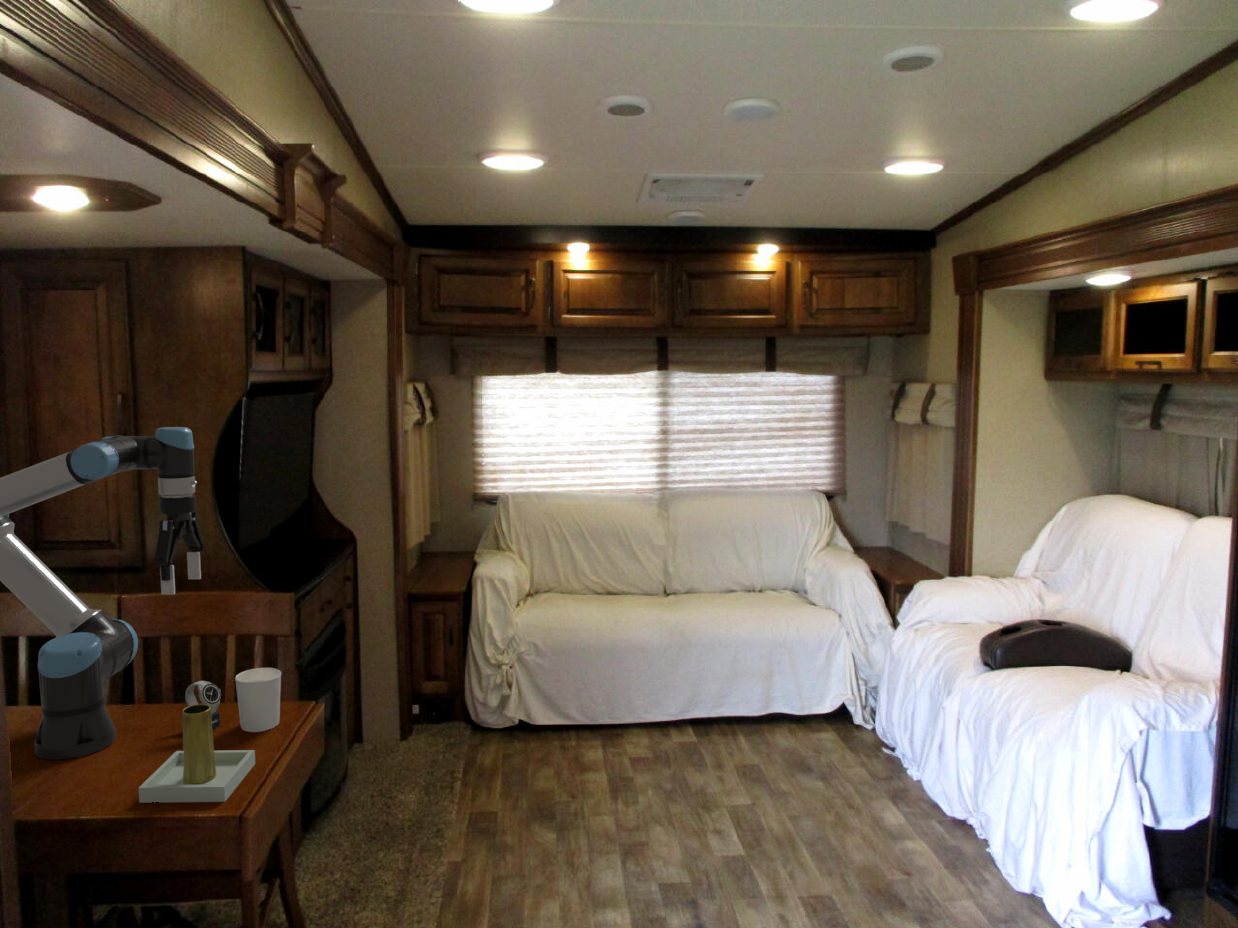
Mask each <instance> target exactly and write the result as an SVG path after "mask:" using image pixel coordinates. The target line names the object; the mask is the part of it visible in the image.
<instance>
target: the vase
mask: <svg viewBox="0 0 1238 928" xmlns="http://www.w3.org/2000/svg"><path fill="white" fill-rule="evenodd" d="M181 720H182V721H181V723H182V726H181V727H182V744H183V745H182V749H183V750H182V751H184V770H183V781H184V782H185V783H188V784H200V783H204V782H207V781H209V780H211V779H213V778H214V777H215V776H216V768H215V758H214V750H215V745H214V734H213V733H214V732H213V729H212V714H211V706H210V705H207V704H203V703H198V704H196V705H191V706H186V707H184V708H183V709H182V710H181Z"/></svg>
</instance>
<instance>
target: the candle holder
mask: <svg viewBox="0 0 1238 928" xmlns="http://www.w3.org/2000/svg"><path fill="white" fill-rule="evenodd" d="M281 676H282V671H281V670H279V669H278V668H274V667H256V668H251V669H246V670H244V671H241V672H239V673H238V674H236V675H235V678H234V680H235V686H236V697H237V706H238V713H239V714H238V715H239V724H240V728H241V730H242V731H244V732H248V733H260V732H266V731H268V730H269V729H270V730H272V729H274V728H276V727H277V726H278V725H279V724H280V721H281V720H280V719H281V718H280V717H281V716H280V715H281V685H282V684H281V683H282V682H281V681H282V680H281V679H282V677H281ZM275 726H276V727H275Z"/></svg>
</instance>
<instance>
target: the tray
mask: <svg viewBox="0 0 1238 928" xmlns="http://www.w3.org/2000/svg"><path fill="white" fill-rule="evenodd" d="M214 758H215V768H216V776H215V777H214V778H213V779H211V780H209V781H207V782H204V783H200V784H188V783H185V782H184V781H183V770H184V751H183V750H176V751H174V752H173V753H172V755H171V756H169V757H168V759H166V761H164V762H163V763H162V764H161V765H160V766H159V767H158V768H157V769H156V770H155V771H154V772H153V773H152V774H151V775H150V776H149V777H148V778H147V779H146V780H145V781H144V782H143V783H142V784H141V785H140V786H138V802H139V804H140V803H142V804H143V803H147V804H148V803H150V804H151V803H152V802H154V803H155V802H159V803H225V802H226V801H227V800H228V799H229V797H230V796H231V795H232V794H233V792H234V791H235V790H236V789H237V788H238V787H239V785H240V784H241V783H242V781H243V780H244V779H245V778H246V776H247V775H248V774H249V772H251V770H252V768H254V766H255V765H256V750H255V749H253V750H252V749H247V750H246V749H240V750H239V749H238V750H236V749H235V750H233V749H231V750H228V749H227V750H220V749H219V750H218V749H217V750H215V749H214ZM152 804H153V803H152Z"/></svg>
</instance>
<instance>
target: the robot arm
mask: <svg viewBox="0 0 1238 928" xmlns="http://www.w3.org/2000/svg"><path fill="white" fill-rule="evenodd" d="M132 470H157V480H158V481H157V483H158V484H157V487H158V495H160V497H159V498H158V500H159V501H158V502H159V512H160V513H161V514H162V515H166V520H160V521H159V525H158V527H159V530H158V531H159V532H158V537H157V541H156V543H157V544H156V548H155V549H156V550H155V555H154V562H153V564H154V566H155V567H159V572H160V573H159V574H160V590H161V591H160V594H161V595H167V596H168V595H170V596H171V595H176V579H175V577H176V576H175V564H173V560H174V556H175V554H176V550H177V547H178V544H179V541H180V540H181V539H182V540H183V542H184V544H185V546H186V547H187V549H188V551H187V552H186V560H187V563H186V564H187V579H188V580H202V571H201V552H204V551H205V541H204V539H203V535H202V532H201V527H200V524H199V521H198V512H197V496H196V495H195V494H194V493H196V485H197V483H198V482H197V480H196V475H195V474H196V473H195V444H194V437H193V432H192V429H190V428H189V427H185V426H184V427H183V426H173V427H171V426H167V427H166V426H163V427H159V428H157V429H156V430H155V435H153V436H152V435H150V436H146V435H145V436H142V435H141V436H138V435H137V436H135V435H134V436H133V435H127V436H126V435H119V434H118V435H113V436H110V435H109V436H105V437H102V438H101V440H100V441H91V442H88V443H85V444H83V445H80V446H79V447H77V448H76V449H73V450H71V451H68V452H65V453H63V454H60V455H57V456H54V457H52V458H49V459H47V460H43V461H41V462H38V463H37V464H36V463H35V464H33V465H31V466H29V467H25V468H22V469H20V470H18V471H17V470H16V471H14V472H12V473H10V474H7V475H4V476H2V477H0V582H1V583H2V584H3V585H4V586H5V588H7V589H8V590H9V591H10V592H11V593H12V594H13V595H14V596H15V597H16V598H17V599H18V600H19V601H21V602H22V603H23V605H24V606H26V608H27V609H29V611H31V613H33V614H34V616H36V617H37V618H38V619H39V620H40V621H41V622H42V623H43V624H44V625H45V626H46V627H47V628H48V629H49V630H50V631H51V632H52V633H53V634H54V635H55V637H54V638H52V639H50V640H48V641H47V642H45V643H44V644H43V645H42V646H41V648H40V649H39V651H38V655H37V656H38V657H37V658H38V661H37V670H38V679H39V680H38V681H39V692H40V705H41V719H40V722H39V724H38V728H37V731H36V735H35V738H34V742H33V743H34V744H33V746H34V755H36V756H37V758H40V759H44V760H68V759H74V758H79V757H84V756H88V755H90V754H94V753H96V752H99V751H102V750H104V749H106V748H108V747H109V746H111V745H112V744H113V743H114V742H115V741H116V740H117V739H116V738H117V737H116V734H117V733H116V727H115V725H114V722H113V720H112V718H111V715H110V713H109V711H108V710H107V707H106V703H105V691H104V690H105V688H104V682H106V681H107V680H109V679H110V678H111V677H112V676H114V675H115V674H117V673H119V672H121V671H123V670H124V668H126V667H127V666H128V665H129V664H130V663H131V662H132V660H133V659H134V658H135V656H136V655H137V652H138V648H139V647H138V646H139V638H138V634H137V632H136V631H135V629H134V628H133V626H132V625H131V624H130V623H128V622H126V621H125V620H122V619H116V618H110V617H109V616H108V615H107V614H106V612H104V611H103V609H92V608H90V607H89V606H88V605H87V604H86V603H85V602H83V600H82V599H81V598H79V596H77V594H76V593H74V591H73V590H71V588H69V587H68V586H67V584H65V583H64V582H63V581H62V580H61V578H60V577H58V576H57V575H56V573H55V572H53V571H52V570H51V569H50V568H49V567H48V566H47V565H46V564H45V563H44V562H43V561H42V560H41V559H40V558H39V557H38V556H37V555H36V554H35V553H34V552H33V551H32V550H31V549H30V548H29V547H28V546H27V545H26V544H25V543H24V542H23V541H22V540H21V539H20V538H19V537H18V536H17V535H16V534H15V532H14V531H15V525H16V524H15V523H14V522H13V520H11V518H10V514H11V513H14V512H17V511H20V510H22V509H25V508H27V507H29V506H32V505H33V506H34V505H35V504H37V503H40V502H43V501H45V500H46V501H47V500H48V499H51V498H54V497H56V496H59V495H62V494H64V493H66V492H70V491H72V490H74V489H76V488H80V487H82V486H85V485H87V484H91V483H93V482H96V481H100V480H102V479H104V478H107V477H109V476H113V475H117V474H120V473H121V474H122V473H124V472H127V471H132Z"/></svg>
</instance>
